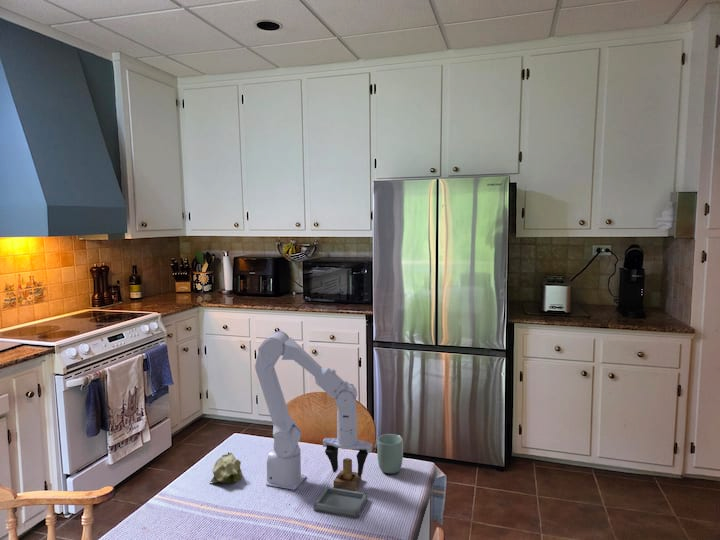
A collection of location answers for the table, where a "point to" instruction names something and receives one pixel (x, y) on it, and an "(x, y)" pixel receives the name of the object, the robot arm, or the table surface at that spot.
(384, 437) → the cup
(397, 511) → the table surface
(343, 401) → the robot arm
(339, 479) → the socket
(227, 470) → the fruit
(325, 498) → the tray
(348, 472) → the pin
